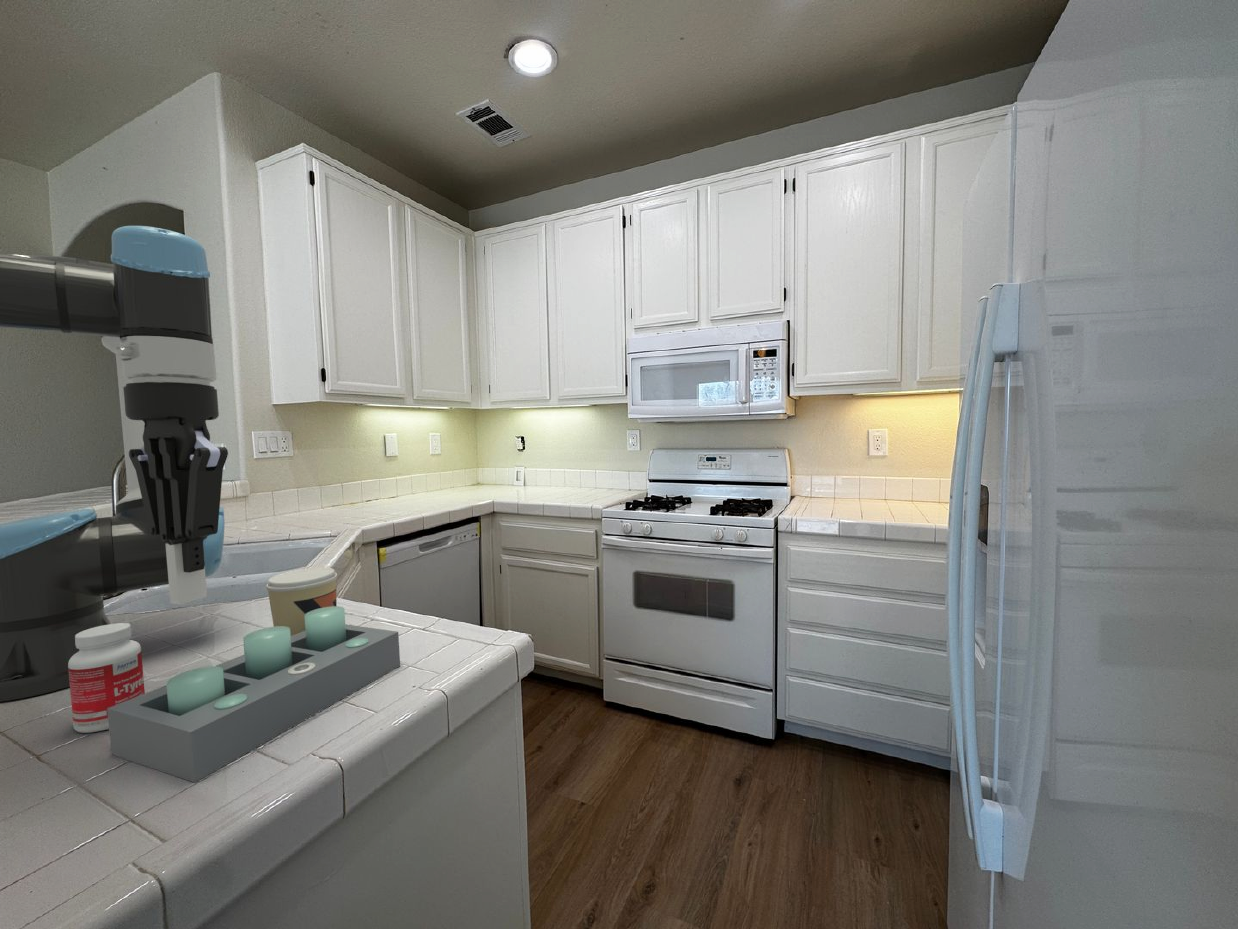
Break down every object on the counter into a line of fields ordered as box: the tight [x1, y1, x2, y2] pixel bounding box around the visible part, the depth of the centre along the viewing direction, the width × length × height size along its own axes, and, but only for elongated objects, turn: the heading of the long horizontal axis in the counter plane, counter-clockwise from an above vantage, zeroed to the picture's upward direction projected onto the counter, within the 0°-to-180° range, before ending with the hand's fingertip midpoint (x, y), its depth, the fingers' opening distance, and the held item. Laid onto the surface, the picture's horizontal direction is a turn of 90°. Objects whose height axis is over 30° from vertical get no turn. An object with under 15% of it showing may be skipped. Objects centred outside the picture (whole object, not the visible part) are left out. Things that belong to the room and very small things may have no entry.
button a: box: [165, 665, 225, 716], centre depth 56 cm, size 5×5×5 cm
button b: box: [242, 626, 293, 680], centre depth 64 cm, size 5×5×5 cm
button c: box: [305, 606, 346, 652], centre depth 71 cm, size 5×5×5 cm
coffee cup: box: [266, 566, 338, 636], centre depth 79 cm, size 9×9×12 cm
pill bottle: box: [68, 622, 146, 734], centre depth 61 cm, size 6×6×11 cm
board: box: [107, 623, 401, 784], centre depth 63 cm, size 14×26×5 cm, turn 159°
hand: (189, 599), depth 56 cm, fingers closed
